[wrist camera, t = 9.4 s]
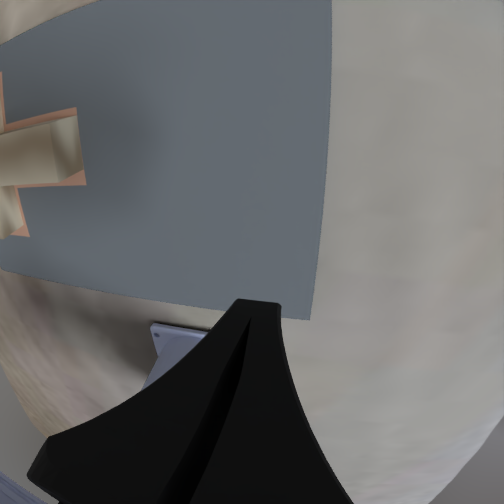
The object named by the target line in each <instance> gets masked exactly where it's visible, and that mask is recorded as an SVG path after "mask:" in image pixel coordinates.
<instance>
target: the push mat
mask: <svg viewBox="0 0 504 504" xmlns="http://www.w3.org/2000/svg"><path fill="white" fill-rule="evenodd" d="M331 61H332V2H331V0H100V1H97V2H94V3H91V4H89V5H86V6H83V7H80V8H78V9H75V10H73V11H70V12H68V13H65V14H63V15H60V16H58V17H56V18H53V19H51V20H49V21H47V22H45V23H42V24H40V25H38V26H36V27H34V28H32V29H30V30H28V31H26V32H24V33H22V34H20V35H18V36H16V37H15V38H13V39H11V40H9V41H7V42H6V43H4V44H2V45H0V95H1V107H2V116H3V125H4V132H6V131H10V130H13V129H17V128H21V127H25V126H29V125H33V124H37V123H41V122H46V121H50V120H55V119H60V118H65V117H70V116H75V115H77V122H78V131H79V139H80V147H81V154H82V161H83V168H84V169H83V170H81V171H79V172H77V173H76V174H74V175H72V176H70V177H68V178H66V179H64V180H63V181H61V182H59V183H41V184H24V185H14V188H15V192H16V197H17V201H18V205H19V209H20V213H21V216H22V220H23V224H24V225H23V226H21V227H20V228H19V229H17V230H16V231H14V232H13V233H12V234H10V235H9V236H8V237H6V238H5V239H0V266H1V269H2V270H4V271H8V272H13V273H17V274H21V275H25V276H30V277H34V278H39V279H43V280H48V281H52V282H57V283H62V284H67V285H72V286H77V287H82V288H87V289H92V290H97V291H102V292H108V293H113V294H119V295H124V296H130V297H136V298H142V299H148V300H154V301H160V302H166V303H173V304H179V305H186V306H193V307H200V308H207V309H215V310H222V311H227V310H228V309H229V307H230V306H231V305H232V304H233V302H234V301H235V300H236V299H238V298H240V299H248V300H257V301H266V302H276V303H279V304H280V305H281V306H282V309H281V318H291V319H301V320H310V315H311V308H312V300H313V293H314V285H315V278H316V269H317V261H318V253H319V244H320V234H321V225H322V215H323V204H324V193H325V181H326V168H327V154H328V138H329V120H330V97H331Z"/></svg>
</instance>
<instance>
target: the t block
mask: <svg viewBox="0 0 504 504" xmlns="http://www.w3.org/2000/svg"><path fill="white" fill-rule="evenodd" d="M83 169H84V168H83V161H82V154H81V147H80V139H79V131H78V122H77V115H75V116H70V117H65V118H60V119H55V120H50V121H46V122H41V123H37V124H33V125H29V126H25V127H21V128H17V129H13V130H10V131H6V132H4V125H3V116H2V107H1V95H0V239H5V238H6V237H8V236H9V235H10V234H12V233H13V232H14V231H16V230H17V229H19V228H20V227H21V226H23V225H24V224H23V220H22V216H21V213H20V209H19V205H18V201H17V197H16V192H15V188H14V185H24V184H41V183H59V182H61V181H63V180H64V179H66V178H68V177H70V176H72V175H74V174H76V173H77V172H79V171H81V170H83Z"/></svg>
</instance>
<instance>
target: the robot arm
mask: <svg viewBox="0 0 504 504" xmlns="http://www.w3.org/2000/svg"><path fill="white" fill-rule="evenodd" d="M281 309H282V306H281V305H280V304H279V303H276V302H266V301H257V300H248V299H240V298H238V299H236V300H235V301H234V302H233V304H232V305H231V306H230V307H229V309H228V310H227V311H226V312H225V314H224V315H223V316H222V317H221V318H220V320H219V321H218V322H217V323H216V324H215V325H214V327H213V328H212V329H211V330H210V331H209V332H204V331H198V330H192V329H186V328H180V327H174V326H168V325H163V324H157V323H153V324H152V325H151V327H150V331H151V334H152V338H153V341H154V345H155V348H156V352H157V355H158V359H157V360H156V362H155V364H154V366H153V368H152V370H151V372H150V374H149V376H148V378H147V380H146V382H145V384H144V386H143V388H142V390H141V391H140V392H139V393H137V394H136V395H134V396H133V397H131V398H129V399H128V400H126V401H125V402H123V403H121V404H120V405H118V406H116V407H114V408H112V409H110V410H109V411H107V412H105V413H103V414H101V415H99V416H97V417H95V418H93V419H91V420H89V421H87V422H85V423H83V424H80V425H78V426H75V427H73V428H70V429H68V430H65V431H63V432H60V433H58V434H55V435H52V436H49V437H48V438H47V440H46V441H45V443H44V444H43V446H42V447H41V449H40V451H39V453H38V455H37V456H36V458H35V460H34V462H33V463H32V466H31V467H30V469H29V471H28V473H27V477H28V479H29V480H30V481H31V482H33V483H34V484H35V485H36V486H38V487H39V488H41V489H42V490H43V491H45V492H46V493H48V494H49V495H51V496H52V497H54V498H55V499H57V500H58V501H59V503H58V504H354V503H353V502H352V500H351V499H350V497H349V496H348V494H347V493H346V491H345V490H344V488H343V487H342V485H341V484H340V482H339V480H338V479H337V477H336V475H335V474H334V472H333V470H332V468H331V467H330V465H329V463H328V461H327V460H326V458H325V456H324V454H323V452H322V450H321V448H320V446H319V444H318V442H317V440H316V438H315V436H314V434H313V432H312V430H311V427H310V425H309V423H308V420H307V418H306V415H305V413H304V411H303V408H302V405H301V403H300V400H299V397H298V395H297V392H296V389H295V386H294V382H293V379H292V376H291V372H290V369H289V365H288V361H287V357H286V352H285V347H284V343H283V337H282V329H281ZM157 333H158V334H157ZM0 504H47V503H46V502H44V501H42V500H41V499H39V498H38V497H36V496H35V495H33V494H31V493H30V492H28V491H27V490H26V489H24V488H23V487H21V486H20V485H18V484H17V483H16V482H14V481H13V480H12V479H10V478H9V477H7V476H6V475H5V474H4V473H2V472H1V471H0Z"/></svg>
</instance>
